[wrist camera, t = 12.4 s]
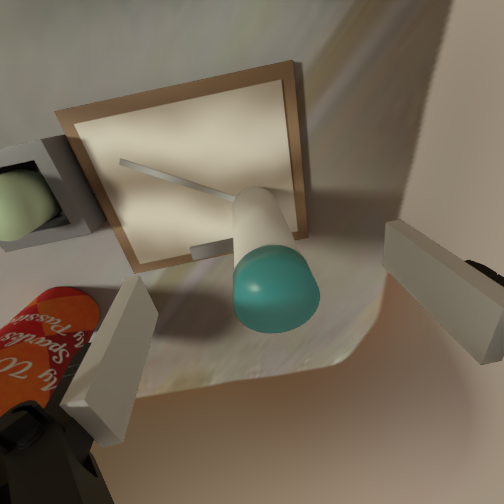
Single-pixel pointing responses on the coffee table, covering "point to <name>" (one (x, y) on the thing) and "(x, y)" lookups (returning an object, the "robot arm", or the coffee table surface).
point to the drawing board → (191, 161)
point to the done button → (24, 203)
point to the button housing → (57, 191)
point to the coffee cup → (43, 344)
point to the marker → (269, 267)
